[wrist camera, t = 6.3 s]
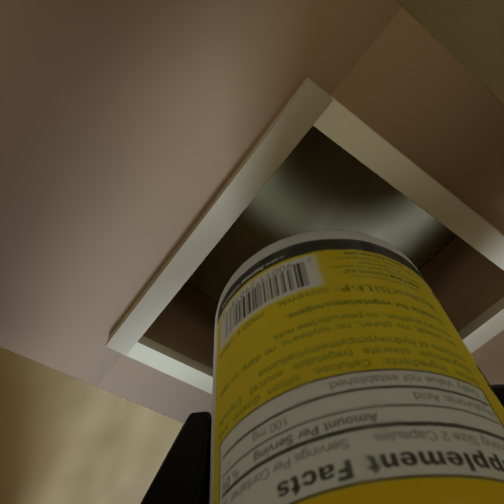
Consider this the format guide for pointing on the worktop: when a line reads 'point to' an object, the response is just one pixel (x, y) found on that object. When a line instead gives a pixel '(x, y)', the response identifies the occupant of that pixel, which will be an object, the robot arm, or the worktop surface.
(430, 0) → the worktop surface
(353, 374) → the supplement bottle
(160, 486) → the robot arm
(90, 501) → the worktop surface
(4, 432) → the worktop surface
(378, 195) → the worktop surface
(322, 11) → the block with rectangular hole
